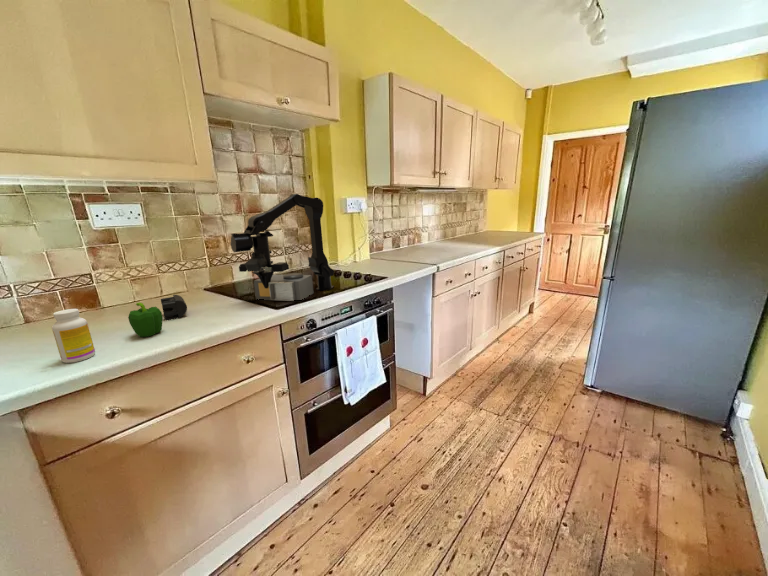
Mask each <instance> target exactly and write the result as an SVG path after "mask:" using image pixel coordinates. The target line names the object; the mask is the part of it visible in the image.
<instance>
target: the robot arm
mask: <svg viewBox="0 0 768 576" xmlns="http://www.w3.org/2000/svg"><path fill="white" fill-rule="evenodd" d="M296 206H298V207H300V208H302V209H304V212H305V215H306V217H307V220H308V221H309V223H308V224H309V232H310V241H311V242H310V243H311V250H312V252H311V256H308V257H307V260H308V267H309V268H310V270H311V271H312V272H313V274H314V275H315V276H317V283H318V285H317V286H318V287H316V288H315V290H316V291H330V290H332V289H333V288H335V285H332V281H331V279H332V278H331V277H334V274H335V270H334V269H333V268H331V267H330V265H329V261H328V257H327V256H326V254H325V252H324V242H323V241H324V240H323V230H322V222H321V219H322V217H323V215H324V214H323V213H324V202H323V200H322V199H321V198H319V197H309V196H305V195H301V194H299V193H292V194H290V195H289V196H288V197H286V198H285V199H283V200H281V201H280V202H279V203H277V204H276V205H274V206H273V207H271V208H269V209H268V210H266V211H263V212H261V213H257V214H255V215H252V216H250V217H249V218H248V221H247V226H246V228H245V230H244V232H241V233H236V232H235V233H231V238H230V246H231V248H230V249H232V252H233V253H239V252H247V251H248V252H249V251H251V250H252V249H253V252H251V258H249V259H248V260H247V261H246V262H244V263H243V262H242V263H241V264H239V266H238V270H239V272H242V273H244V272H249V273H250V272H252V274H254V275H256V276H257V277H258V279H260V280H261V282H262V284H263V285H264V287H265V288H268V287H269V282H270V281H271V278H272V275H274V273H282V272H285V271H288V270H289V269H290V267H289V264H288V262H283V261H282V262H276V263H274V261H273V260H272V259H271V254H272V252H273V251H272V250H270V245H269V238H270V237H271V238H272V237H273V236H274V234H273V233H271V232H270V231H269V230H268V228H270V227H271V226H272V225H273V223H274V222H275V221H276V220H277V219H278V218H279V217H281V216H283V215H284V214H285V213H287V212H288V211H290V210H291V209H293V208H294V207H296ZM268 237H269V238H268Z"/></svg>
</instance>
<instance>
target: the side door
mask: <svg viewBox="0 0 768 576" xmlns="http://www.w3.org/2000/svg"><path fill="white" fill-rule="evenodd" d="M269 291H270V299H271V300H270V301H281V302H282V301H284V302H285V301H287V302H290V301H291V302H295V301H294V300H296V295H295V286H294V282H269Z"/></svg>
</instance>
